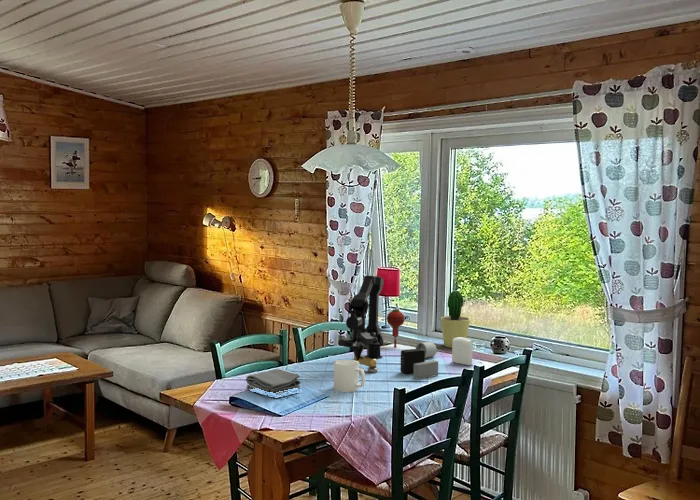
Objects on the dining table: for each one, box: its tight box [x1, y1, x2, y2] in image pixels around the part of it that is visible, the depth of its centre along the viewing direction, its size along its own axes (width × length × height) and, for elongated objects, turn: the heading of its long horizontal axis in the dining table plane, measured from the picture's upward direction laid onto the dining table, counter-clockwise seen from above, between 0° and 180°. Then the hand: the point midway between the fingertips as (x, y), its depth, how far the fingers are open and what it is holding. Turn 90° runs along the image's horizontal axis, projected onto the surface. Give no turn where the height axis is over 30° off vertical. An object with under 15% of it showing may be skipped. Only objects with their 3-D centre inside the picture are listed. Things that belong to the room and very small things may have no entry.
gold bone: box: [353, 353, 377, 368], centre depth 309 cm, size 14×3×4 cm, turn 36°
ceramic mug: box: [415, 341, 438, 359], centre depth 336 cm, size 11×8×8 cm
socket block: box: [412, 359, 439, 380], centre depth 298 cm, size 3×12×6 cm, turn 128°
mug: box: [333, 359, 366, 393], centre depth 276 cm, size 14×10×11 cm
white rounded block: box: [451, 337, 474, 366], centre depth 323 cm, size 10×4×12 cm, turn 44°
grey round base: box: [367, 367, 378, 374], centre depth 305 cm, size 4×4×2 cm
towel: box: [245, 368, 302, 395], centre depth 270 cm, size 15×18×8 cm
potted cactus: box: [440, 290, 471, 349], centre depth 362 cm, size 15×15×30 cm
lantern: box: [386, 308, 406, 349], centre depth 356 cm, size 10×10×30 cm
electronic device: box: [399, 348, 426, 375], centre depth 304 cm, size 4×10×10 cm, turn 115°
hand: (357, 359), depth 310 cm, fingers closed
